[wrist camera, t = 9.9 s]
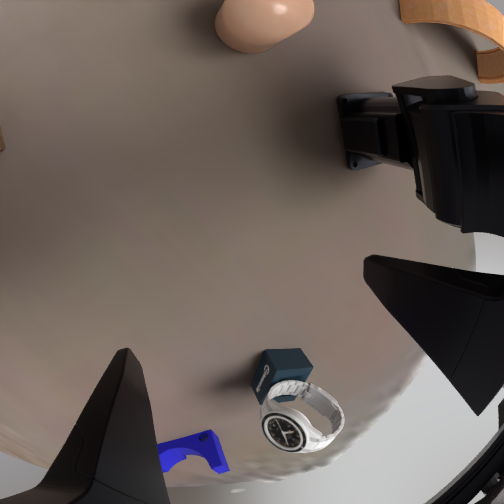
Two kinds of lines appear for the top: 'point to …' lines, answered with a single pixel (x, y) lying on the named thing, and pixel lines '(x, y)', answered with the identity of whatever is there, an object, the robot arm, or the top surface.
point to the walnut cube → (1, 142)
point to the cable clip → (193, 451)
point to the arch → (470, 18)
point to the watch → (287, 389)
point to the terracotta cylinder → (261, 22)
